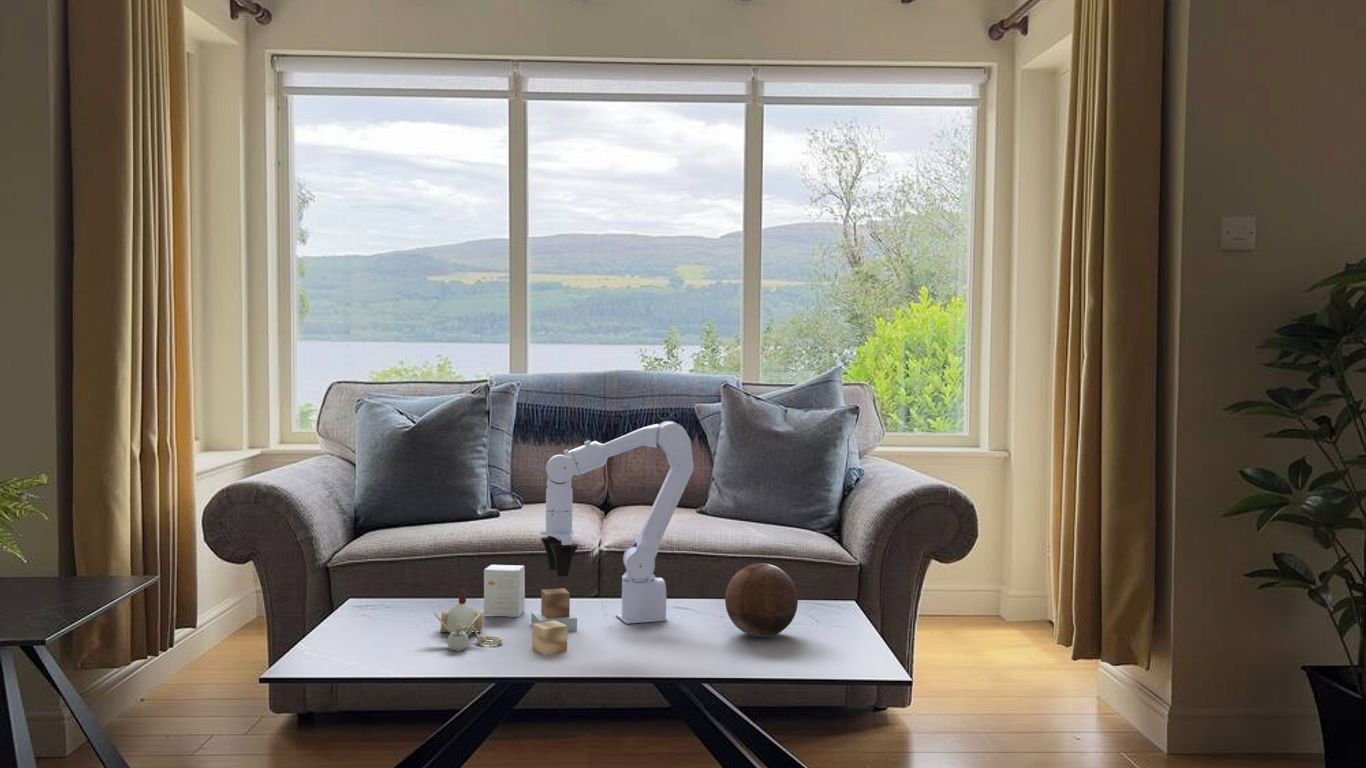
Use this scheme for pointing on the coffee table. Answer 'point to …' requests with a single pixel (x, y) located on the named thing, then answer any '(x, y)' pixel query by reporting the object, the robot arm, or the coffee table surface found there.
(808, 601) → the coffee table surface
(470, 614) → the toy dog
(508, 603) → the small box
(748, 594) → the wooden sphere
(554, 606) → the walnut cube
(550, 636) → the oak cube
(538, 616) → the slab
